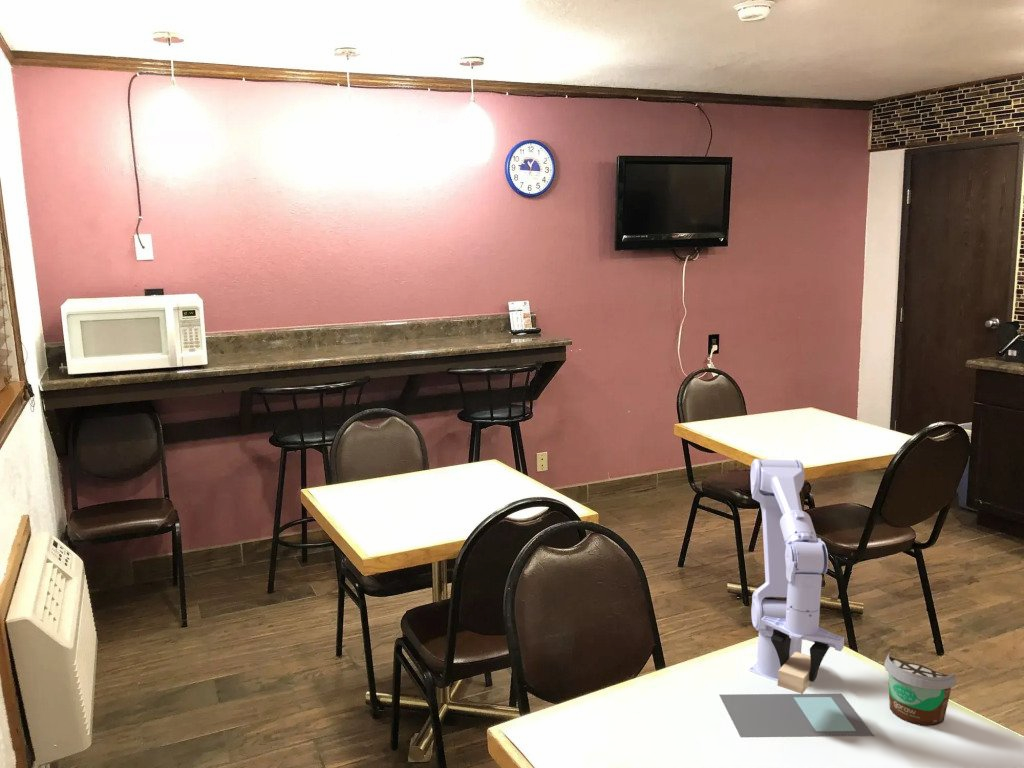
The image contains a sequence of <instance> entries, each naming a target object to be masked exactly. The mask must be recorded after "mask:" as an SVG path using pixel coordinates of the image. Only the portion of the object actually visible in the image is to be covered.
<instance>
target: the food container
mask: <svg viewBox="0 0 1024 768" xmlns="http://www.w3.org/2000/svg"><path fill="white" fill-rule="evenodd" d="M883 664H884V669H885V671H886V672H887V673H888V674H887V675H888V697H889V698H888V701H889V710H890V711H891V712H892V714H893V715H895V716H896V717H897V718H898V719H900V720H902V721H904V722H907V723H910V724H913V725H917V726H923V727H934V726H939V725H941V724H942V723H944V721H945V718H946V713H947V708H948V704H949V701H950V700H949V699H950V695H951V691H952V688H953V687H955V686H956V685H957V678H956V677H957V676H955V672H952V673H951V674H950V675H949V674H945V673H941V672H939V671H936V670H933V669H932V668H929V667H927V666H925V665H922V664H919V663H913V662H909V661H904V660H901V659H898V658H895V657H892V656H891V652H888V654H887V656H886V657H885V661H884V663H883Z"/></svg>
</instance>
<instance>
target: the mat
mask: <svg viewBox="0 0 1024 768" xmlns="http://www.w3.org/2000/svg"><path fill="white" fill-rule="evenodd" d="M719 697H720V700H721V702H722V703H723V705H724V708H725V710H726V711H727V713H728V715H729V717H730V719H731V721H732V723H733V725H734V727H735V729H736V730H737V733H738V735H739V737H740V738H790V737H793V738H798V737H799V738H801V737H804V738H805V737H816V738H817V737H875V734H874V733H873V731H872V730H871V729H870V728H869V727H868V725H867V724H866V723H865V722H864V721H863V719H862V718H861V717H860V715H859V714H858V713H857V711H855V708H853V706H852V705H851V704H850V703H849V701H848V700H847V699H846V697H845V696H844V695H843V693H803V694H801V693H770V694H769V693H763V694H762V693H761V694H759V693H758V694H757V693H756V694H751V693H750V694H748V693H746V694H744V693H743V694H741V693H740V694H729V693H728V694H719Z"/></svg>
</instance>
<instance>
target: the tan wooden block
mask: <svg viewBox="0 0 1024 768" xmlns="http://www.w3.org/2000/svg"><path fill="white" fill-rule="evenodd" d="M810 666H811V660H810V655H808V654H804V653H802V652H801V653H799V652H795V653H794V654H793V655H792V656H791V657H790V658H789V659H788V660H787V661H786V663H785V664H784V665H783V666H782V667H781V668H780V669H779V670H778V682H777V685H776V686H777V687H780V688H783V689H786V690H789V691H792V692H796V693H797V694H804V693H805V691H806V690H807V689H808V688H809V686H811V684H812V683H813V682H812V681H809V674H810ZM819 672H820V671H819V670H818V673H817V676H818V675H819Z"/></svg>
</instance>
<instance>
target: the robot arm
mask: <svg viewBox="0 0 1024 768" xmlns="http://www.w3.org/2000/svg"><path fill="white" fill-rule="evenodd" d="M750 464H751V465H750V491H751V493H750V494H751V498H752V499H753V500H755V501H756V502H758V503H759V505H760V509H761V518H762V537H763V539H762V541H763V554H764V556H763V558H764V560H763V561H764V578H765V582H764V583H763V584H762V585H760V586H758V588H756V589H755V590H754V591H753V593H752V595H751V598H752V599H751V602H752V603H751V610H750V611H751V612H750V613H751V614H750V615H751V622H752V626H753V627H754V628H755V630H756V631H758V638H757V639H758V641H757V660H756V663H755V664H754V665H752V666H751V667H749V668H748V671H749V672H752V673H754V674H757V675H758V676H762V677H764V678H766V679H769V680H772V681H775V682H777V683H778V670H779V669H780V668H781V667H782V666H783V665H784V664H785V663H786V661H787V660H788V659H789V658H790V657H791V656H792V655H793V654H794V653H795V652H799V653H802V645H803V641H809V642H812V643H813V644H812V645H811V647H810V648H809V654H810V655H809V656H810V660H811V666H810V674H809V681H812V682H811V683H813V682H815V680H816V679H817V677H818V675H817V673H818V674H819V672H818V670H819V668H820V666H821V664H822V662H823V660H824V658H825V656H826V654H827V653H828V651H829V649H830V648H833V649H834V650H835V651H838V652H841V651H842V650H843V649H844V648H845V637H844V636H841V635H838V634H835V633H833V632H830V631H829V630H826V629H824V628H822V627H820V626H819V625H820V610H821V596H822V584H823V582H822V581H823V580H822V579H823V575H825V574H826V573H827V572H828V567H829V552H828V549H827V546H826V543H825V541H823V540H822V539H821V538H820V537H818V536H817V533H816V530H815V528H814V523H813V522H812V518H811V516H810V515H809V513H807V512H806V511H804V510H803V506H802V504H801V501H802V500H801V498H800V497H801V496H800V492H801V491H802V488H803V487H804V485H805V476H806V475H805V467H804V464H803V463H802V462H801V460H800V459H795V460H793V459H791V460H790V459H759V458H755V459H754V460H753V461H752V462H751V463H750ZM822 574H823V575H822ZM765 598H776V599H765ZM777 598H778V599H777ZM779 598H780V599H779ZM781 598H783V599H781ZM784 598H786V599H784Z"/></svg>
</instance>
